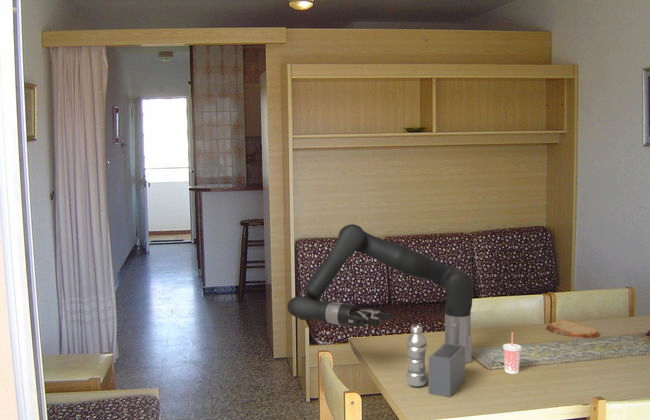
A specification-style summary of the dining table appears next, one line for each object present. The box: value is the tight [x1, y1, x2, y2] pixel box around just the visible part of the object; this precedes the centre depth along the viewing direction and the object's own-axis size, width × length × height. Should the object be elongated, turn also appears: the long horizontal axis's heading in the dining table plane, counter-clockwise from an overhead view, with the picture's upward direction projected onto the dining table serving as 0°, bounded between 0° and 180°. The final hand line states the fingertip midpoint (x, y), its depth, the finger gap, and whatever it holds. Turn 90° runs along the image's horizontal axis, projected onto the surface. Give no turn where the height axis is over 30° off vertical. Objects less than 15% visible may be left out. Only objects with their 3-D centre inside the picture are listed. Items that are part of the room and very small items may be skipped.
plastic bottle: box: [405, 324, 428, 388], centre depth 218 cm, size 6×7×20 cm
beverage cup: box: [502, 331, 522, 375], centre depth 230 cm, size 6×6×14 cm
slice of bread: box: [545, 319, 600, 339], centre depth 277 cm, size 18×18×4 cm
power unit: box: [428, 342, 466, 398], centre depth 217 cm, size 7×16×12 cm, turn 152°
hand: (384, 319), depth 222 cm, fingers open, 8 cm apart
